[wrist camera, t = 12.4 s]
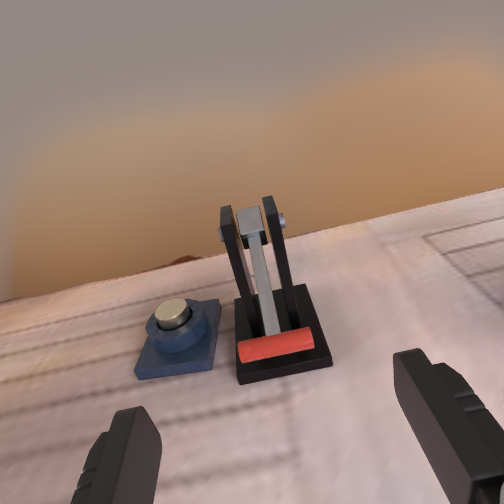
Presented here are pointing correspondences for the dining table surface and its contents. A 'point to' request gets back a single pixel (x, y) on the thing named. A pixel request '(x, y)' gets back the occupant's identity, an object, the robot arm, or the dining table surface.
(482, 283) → the dining table surface
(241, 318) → the bracket
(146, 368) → the box
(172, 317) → the button
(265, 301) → the lever
